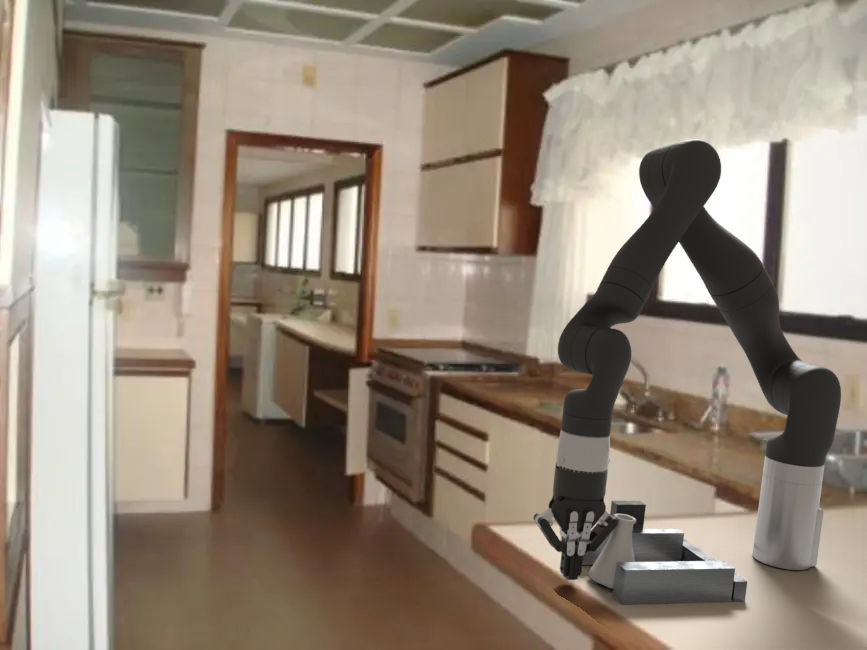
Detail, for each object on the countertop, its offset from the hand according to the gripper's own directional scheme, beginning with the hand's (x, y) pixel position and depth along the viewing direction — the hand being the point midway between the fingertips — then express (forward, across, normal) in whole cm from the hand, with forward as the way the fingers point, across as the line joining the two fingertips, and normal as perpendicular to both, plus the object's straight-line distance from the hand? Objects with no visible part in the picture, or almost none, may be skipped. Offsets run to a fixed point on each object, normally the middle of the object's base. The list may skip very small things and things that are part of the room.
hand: (569, 577), depth 140 cm
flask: (+1, -7, 0) cm, 7 cm away
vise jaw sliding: (+1, -14, -8) cm, 16 cm away
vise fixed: (+1, -15, -2) cm, 15 cm away
